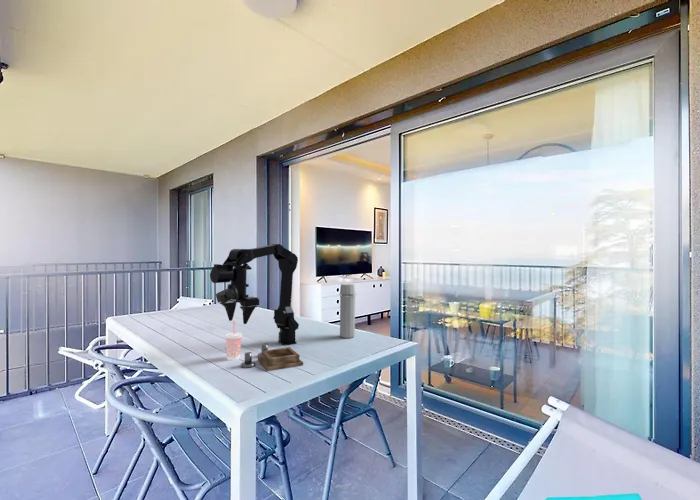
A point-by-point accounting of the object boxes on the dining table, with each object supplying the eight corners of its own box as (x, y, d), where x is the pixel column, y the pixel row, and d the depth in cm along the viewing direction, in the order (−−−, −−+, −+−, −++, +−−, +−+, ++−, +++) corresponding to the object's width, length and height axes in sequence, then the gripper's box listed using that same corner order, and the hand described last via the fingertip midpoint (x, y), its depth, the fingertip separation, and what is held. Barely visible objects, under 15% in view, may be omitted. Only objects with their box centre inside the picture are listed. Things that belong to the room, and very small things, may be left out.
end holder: (291, 355, 132) (291, 346, 132) (303, 365, 121) (303, 355, 121) (257, 360, 126) (257, 350, 126) (267, 371, 115) (267, 360, 115)
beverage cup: (228, 355, 131) (229, 319, 131) (244, 355, 131) (244, 319, 131) (222, 360, 125) (222, 322, 125) (238, 360, 125) (239, 323, 125)
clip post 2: (269, 353, 134) (269, 342, 134) (272, 356, 130) (272, 345, 130) (256, 355, 132) (256, 343, 132) (259, 358, 127) (259, 347, 127)
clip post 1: (253, 362, 123) (253, 350, 123) (257, 366, 119) (257, 354, 119) (239, 364, 121) (239, 352, 121) (242, 369, 116) (242, 356, 116)
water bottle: (340, 334, 165) (340, 283, 165) (356, 335, 164) (356, 283, 164) (337, 339, 156) (337, 285, 156) (354, 340, 155) (354, 285, 155)
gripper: (205, 281, 128) (204, 322, 128) (234, 284, 117) (233, 329, 117) (231, 279, 137) (230, 318, 137) (260, 282, 126) (259, 324, 126)
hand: (237, 322), depth 129 cm, fingers open, 9 cm apart
